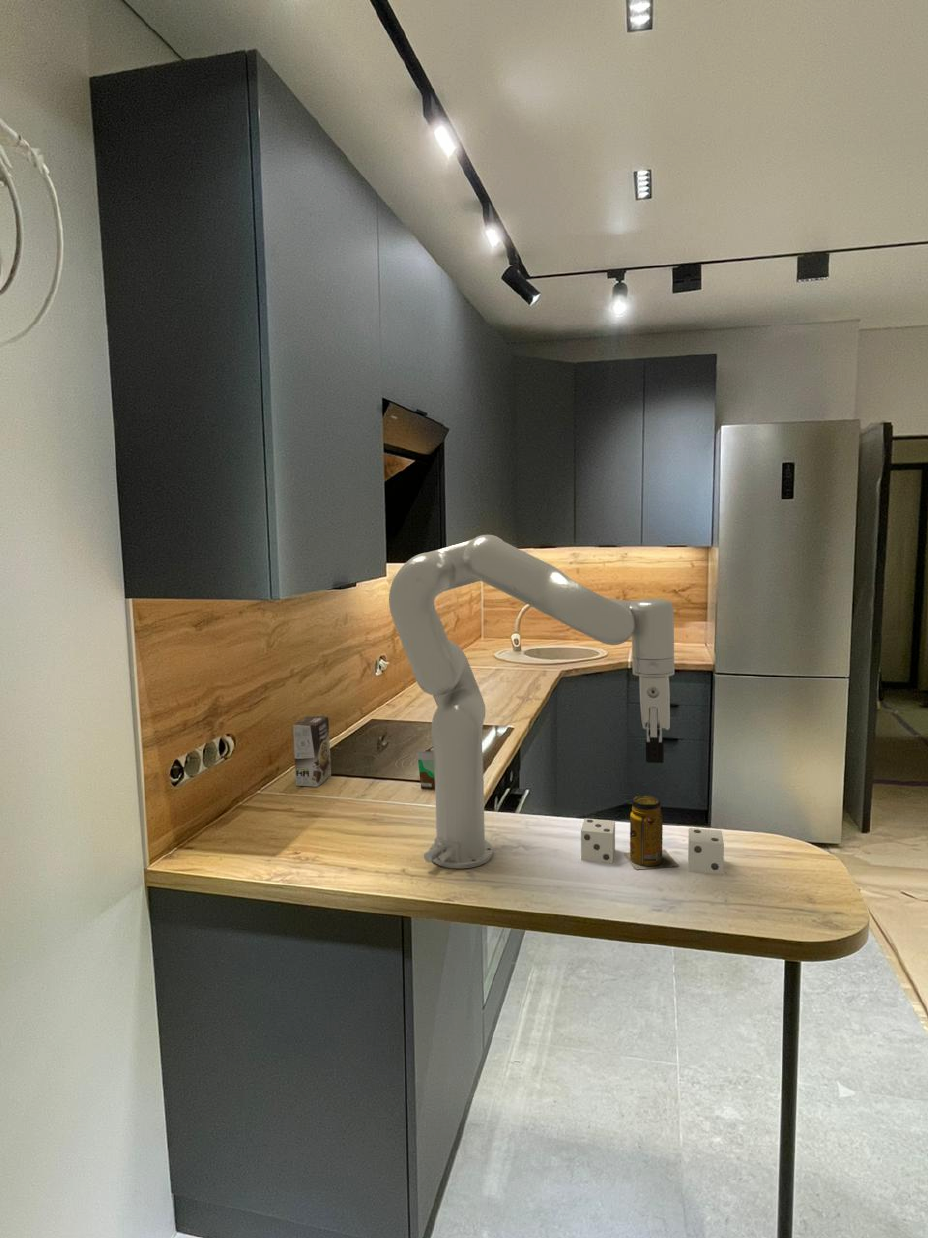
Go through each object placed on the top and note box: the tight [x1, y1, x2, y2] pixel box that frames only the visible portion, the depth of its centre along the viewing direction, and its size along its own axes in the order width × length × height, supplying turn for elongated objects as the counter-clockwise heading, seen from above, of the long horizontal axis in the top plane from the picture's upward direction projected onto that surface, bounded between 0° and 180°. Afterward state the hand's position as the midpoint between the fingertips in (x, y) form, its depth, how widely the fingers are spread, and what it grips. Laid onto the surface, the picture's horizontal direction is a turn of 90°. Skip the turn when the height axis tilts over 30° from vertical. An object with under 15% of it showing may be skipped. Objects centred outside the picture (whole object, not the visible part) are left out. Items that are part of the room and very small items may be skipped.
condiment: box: [623, 795, 680, 870], centre depth 138 cm, size 7×8×12 cm
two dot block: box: [687, 827, 725, 876], centre depth 135 cm, size 6×6×6 cm
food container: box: [415, 746, 435, 791], centre depth 181 cm, size 12×6×10 cm, turn 143°
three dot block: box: [580, 818, 616, 864], centre depth 141 cm, size 6×6×6 cm
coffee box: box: [292, 715, 332, 788], centre depth 187 cm, size 9×6×16 cm
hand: (654, 761), depth 136 cm, fingers closed
